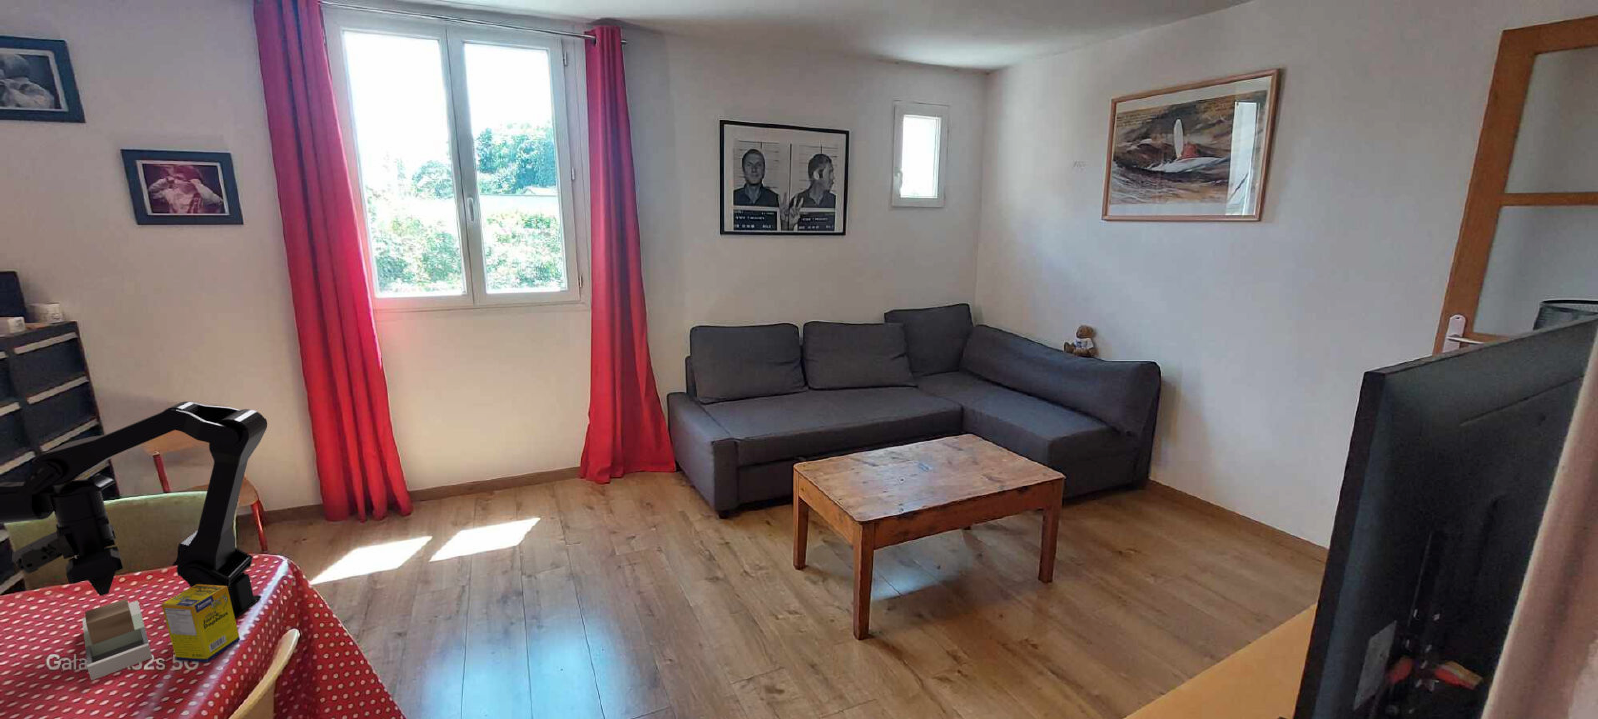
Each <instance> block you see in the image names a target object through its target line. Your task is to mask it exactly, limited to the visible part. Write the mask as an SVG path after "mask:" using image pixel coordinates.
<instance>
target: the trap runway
mask: <svg viewBox="0 0 1598 719" xmlns="http://www.w3.org/2000/svg"><path fill="white" fill-rule="evenodd" d="M128 605H129V609H130V612H131V616H133V615H136V614H139V613H141V615H142V611H141V607H140V604H139V601H138V600H135V601H134V600H133V601H131V602H128ZM142 616H143V615H142ZM142 619H143V617H142ZM81 620H82V628H83V629H82V631H83V632H84V631H87V630H88V628H87V625H86V617H82V618H81ZM143 620H144V619H143ZM140 629H141V633H142V637H143V639H142V640H139V641H136V642H133V643H131V644H128V645H125V646H122V647H119V648H117V649H114V650H111V651H108V652H105V653H102V654H100V655H97V656H94V657H93V655H92V652H91V648H90V646H87V647H85V646H84V647H85V648H84V649H85V658H86V666H87V667H86V668H87V671H88V673H89V678H90V680H91V681H94V680H97V679H99V678H103V677H105V676H107V675H110V674H113V673H115V672H118V671H121V670H123V669H126V668H129V667H131V666H134V665H137V664H140V663H143V662H145V661H148V660H150V659H153V654H152V649H151V647H150V644H149V640H148V635H146V634H147V631H145V630H146V627H142V628H140Z"/></svg>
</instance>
